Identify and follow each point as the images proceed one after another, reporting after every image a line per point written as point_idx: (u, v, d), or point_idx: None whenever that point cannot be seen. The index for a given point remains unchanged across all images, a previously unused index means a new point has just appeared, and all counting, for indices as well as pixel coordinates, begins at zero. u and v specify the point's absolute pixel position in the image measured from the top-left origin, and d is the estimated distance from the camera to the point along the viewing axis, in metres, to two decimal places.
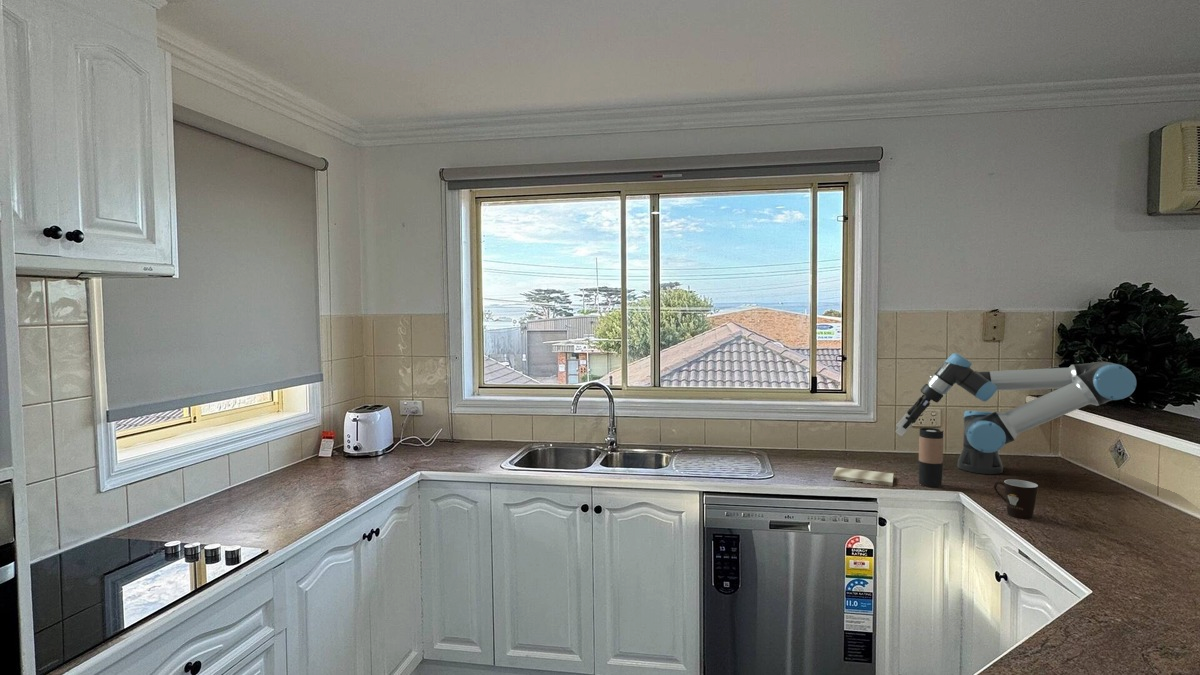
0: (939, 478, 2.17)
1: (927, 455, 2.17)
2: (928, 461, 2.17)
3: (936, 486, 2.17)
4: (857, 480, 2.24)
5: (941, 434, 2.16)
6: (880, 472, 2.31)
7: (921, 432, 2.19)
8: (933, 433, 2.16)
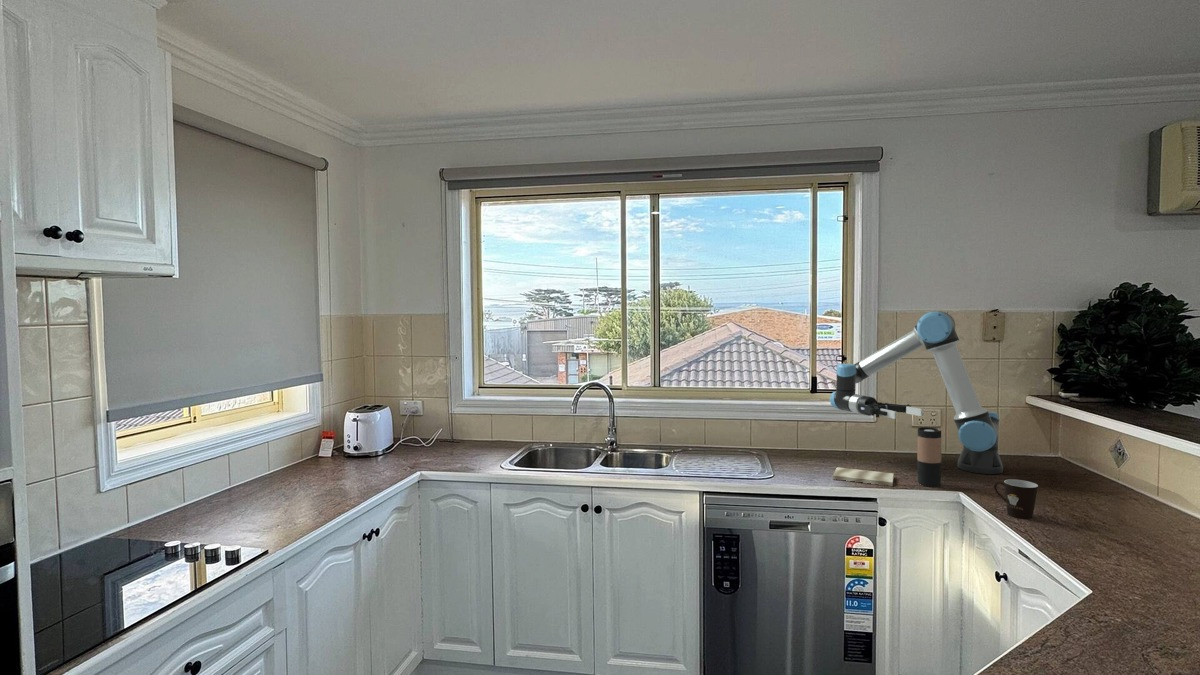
0: (938, 477, 2.18)
1: (926, 455, 2.17)
2: (927, 460, 2.17)
3: (935, 485, 2.17)
4: (857, 480, 2.24)
5: (939, 434, 2.17)
6: (880, 472, 2.31)
7: (919, 432, 2.19)
8: (931, 433, 2.16)
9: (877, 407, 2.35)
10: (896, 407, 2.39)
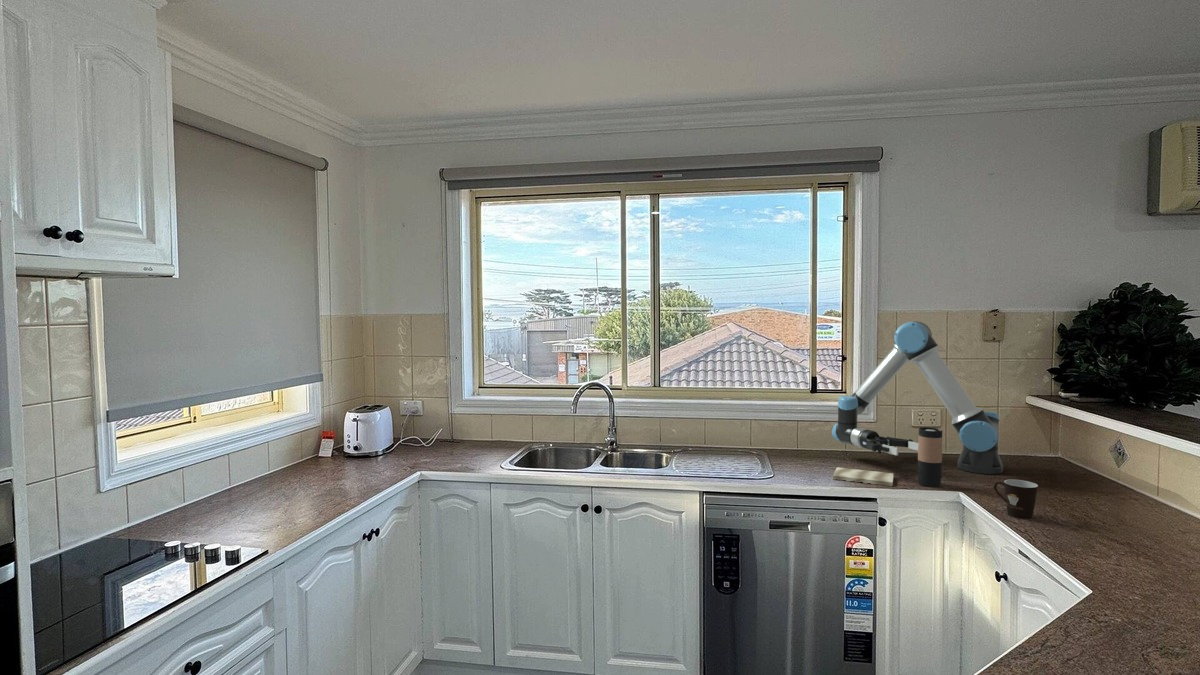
0: (938, 477, 2.18)
1: (927, 454, 2.18)
2: (928, 460, 2.17)
3: (935, 485, 2.17)
4: (857, 480, 2.24)
5: (941, 434, 2.17)
6: (880, 472, 2.31)
7: (920, 431, 2.20)
8: (933, 432, 2.17)
9: (879, 442, 2.34)
10: (898, 442, 2.38)
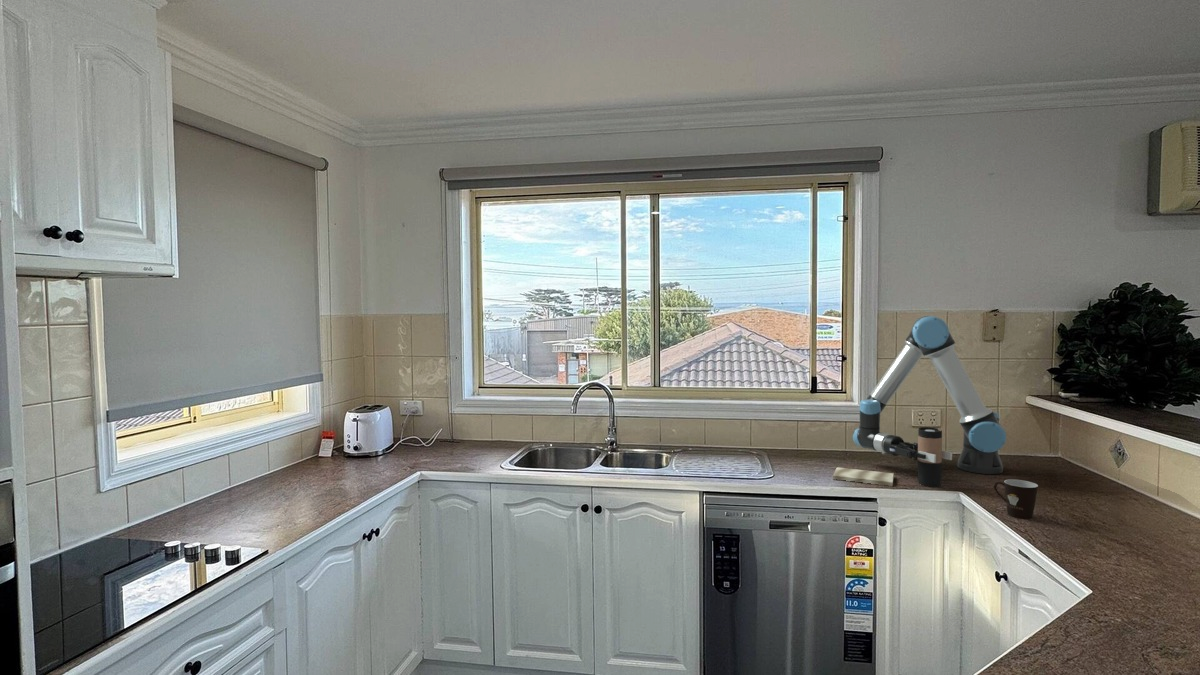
0: (938, 477, 2.18)
1: None
2: None
3: (936, 485, 2.17)
4: (857, 480, 2.24)
5: (940, 434, 2.17)
6: (880, 472, 2.31)
7: (920, 432, 2.19)
8: (932, 433, 2.16)
9: (911, 449, 2.23)
10: None
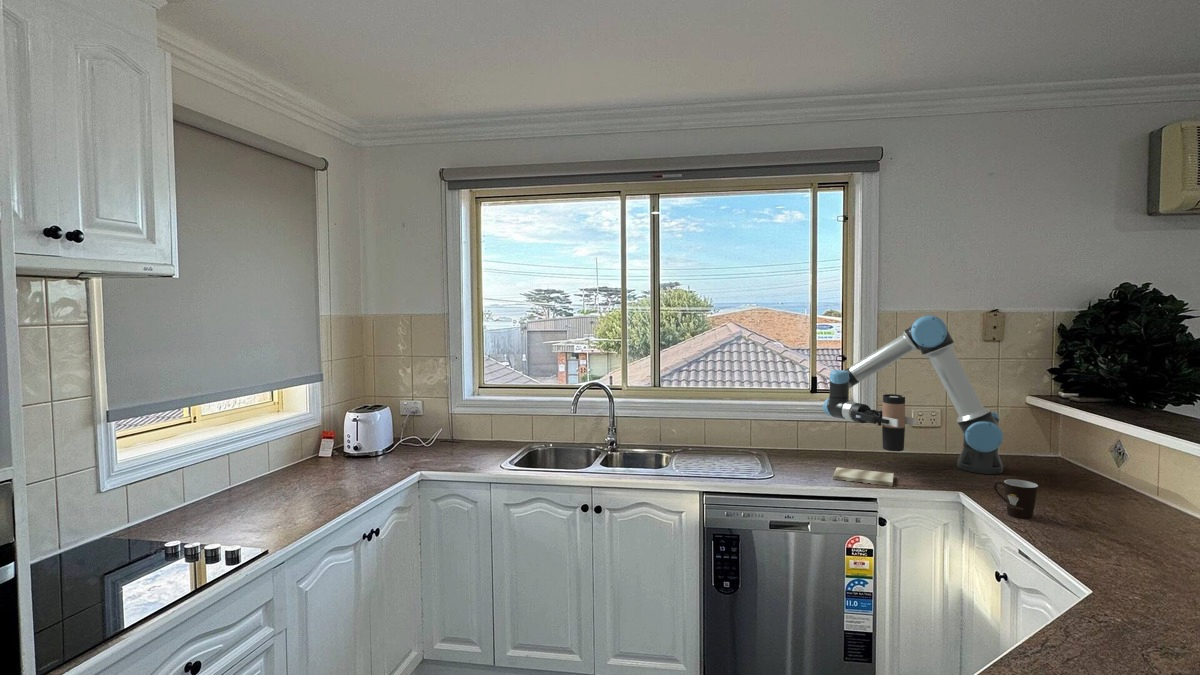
0: (901, 442, 2.25)
1: None
2: None
3: (899, 450, 2.25)
4: (857, 480, 2.24)
5: (903, 400, 2.24)
6: (880, 472, 2.31)
7: (884, 398, 2.26)
8: (895, 399, 2.23)
9: (876, 415, 2.31)
10: None
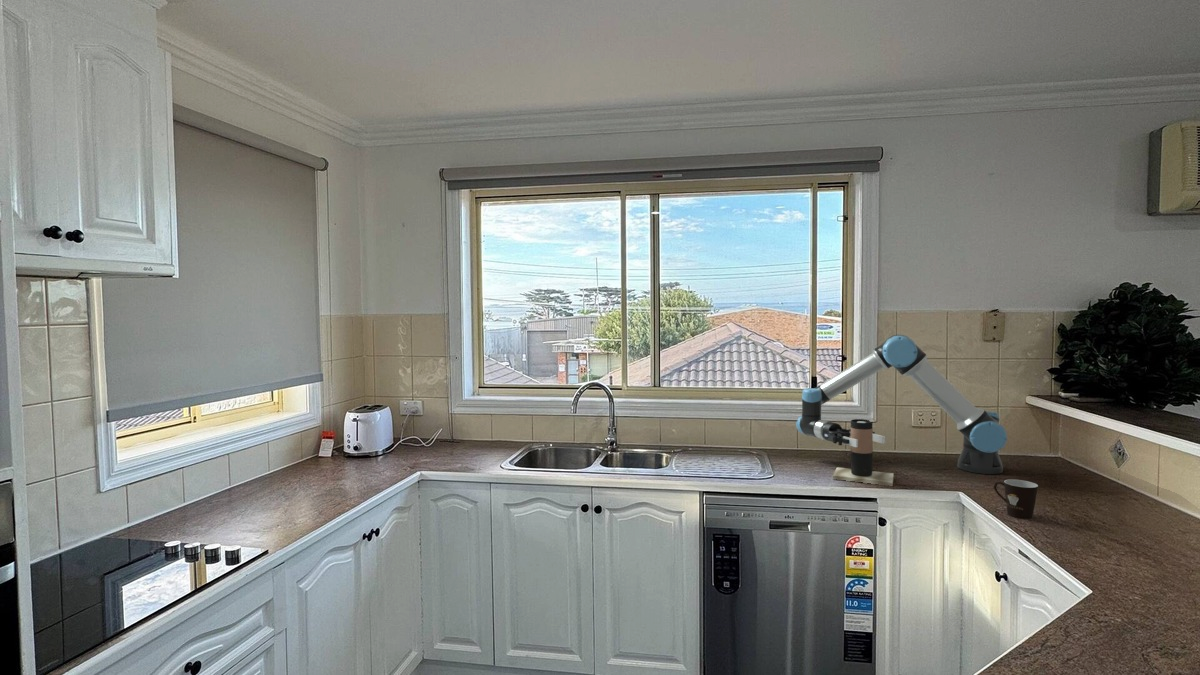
0: (869, 467, 2.26)
1: (858, 445, 2.26)
2: (859, 451, 2.26)
3: (867, 475, 2.26)
4: (857, 480, 2.24)
5: (870, 425, 2.25)
6: (880, 472, 2.31)
7: (852, 423, 2.28)
8: (863, 424, 2.25)
9: (840, 434, 2.32)
10: None
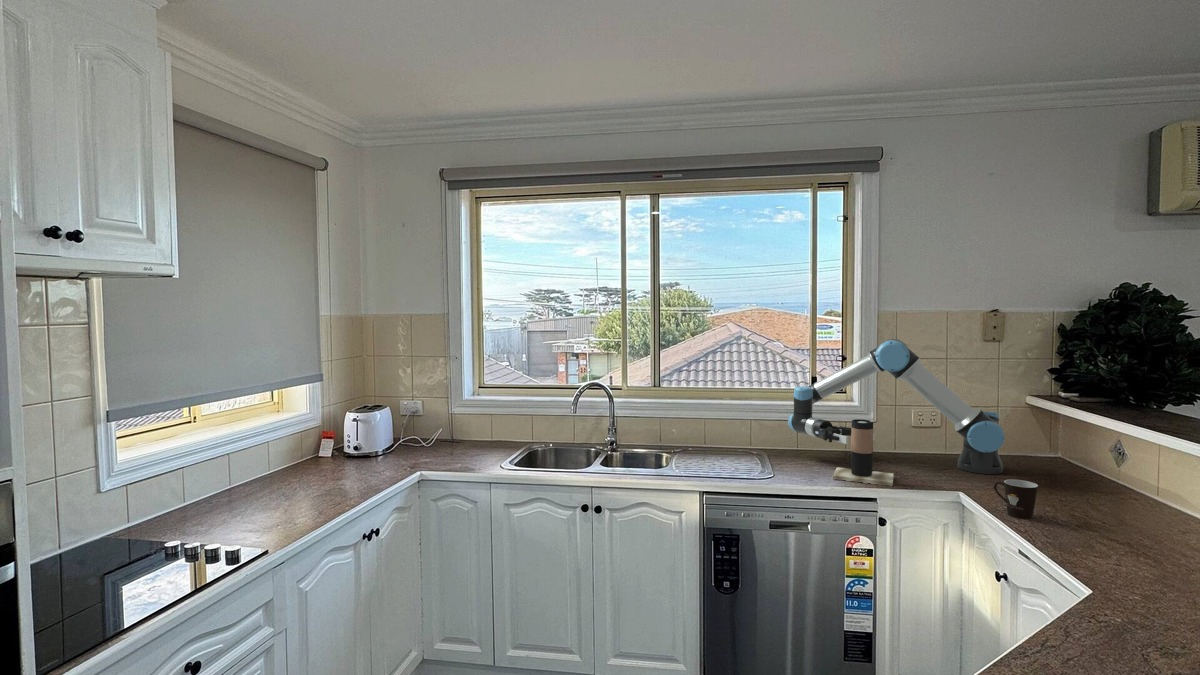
0: (869, 467, 2.26)
1: (858, 445, 2.26)
2: (859, 451, 2.26)
3: (867, 475, 2.26)
4: (857, 480, 2.24)
5: (871, 425, 2.25)
6: (880, 472, 2.31)
7: (853, 423, 2.28)
8: (863, 424, 2.25)
9: (830, 431, 2.36)
10: (850, 431, 2.40)
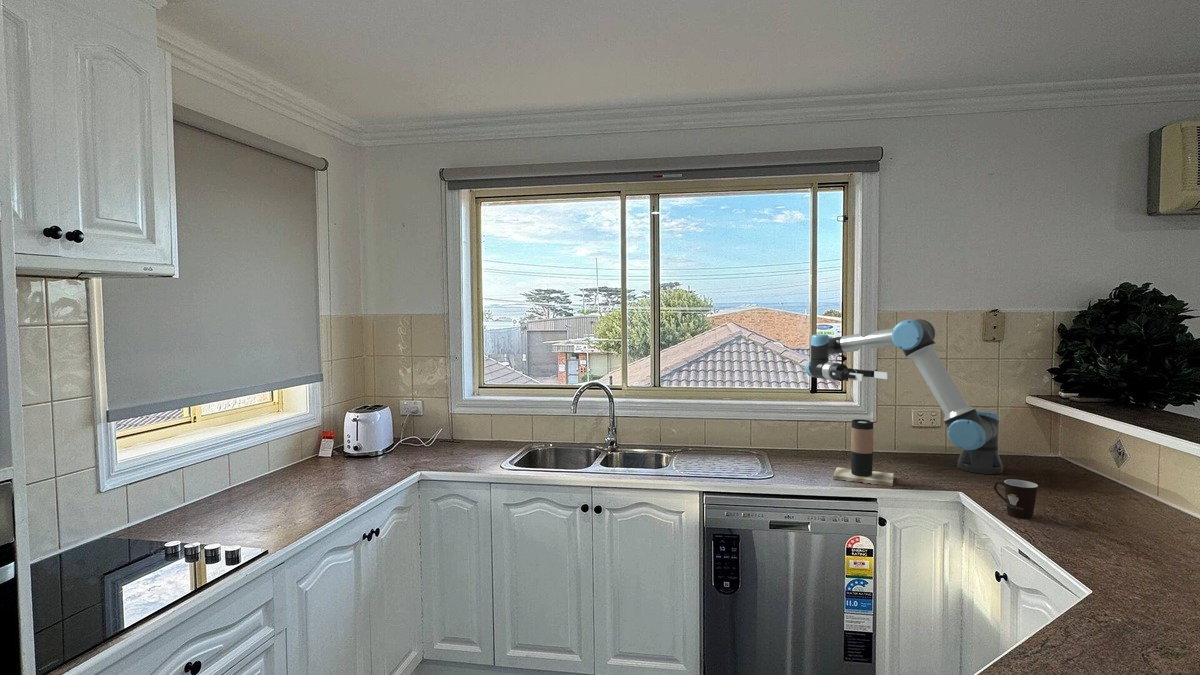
0: (869, 467, 2.26)
1: (858, 445, 2.26)
2: (859, 451, 2.26)
3: (867, 475, 2.26)
4: (857, 480, 2.24)
5: (871, 425, 2.25)
6: (880, 472, 2.31)
7: (853, 423, 2.28)
8: (863, 424, 2.25)
9: (847, 372, 2.52)
10: (865, 372, 2.56)
